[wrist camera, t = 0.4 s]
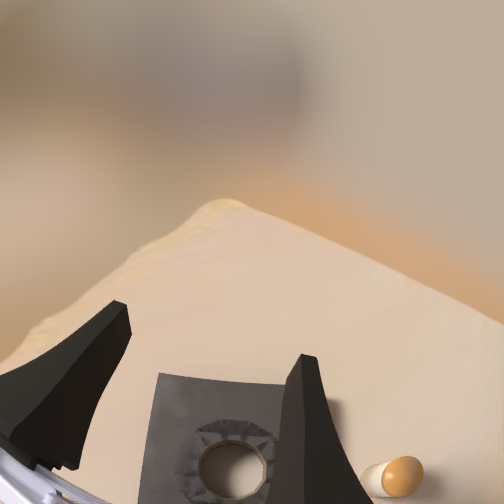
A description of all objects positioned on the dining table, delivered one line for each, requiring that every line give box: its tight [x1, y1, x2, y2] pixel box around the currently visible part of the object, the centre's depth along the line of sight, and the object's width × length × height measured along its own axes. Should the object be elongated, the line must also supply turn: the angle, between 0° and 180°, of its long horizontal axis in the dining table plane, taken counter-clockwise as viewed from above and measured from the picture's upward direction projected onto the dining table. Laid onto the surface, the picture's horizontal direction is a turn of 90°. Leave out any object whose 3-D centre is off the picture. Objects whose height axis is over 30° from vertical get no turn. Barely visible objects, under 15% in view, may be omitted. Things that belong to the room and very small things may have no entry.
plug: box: [360, 456, 423, 497], centre depth 19 cm, size 4×4×6 cm
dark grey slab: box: [138, 373, 285, 504], centre depth 22 cm, size 18×16×3 cm
